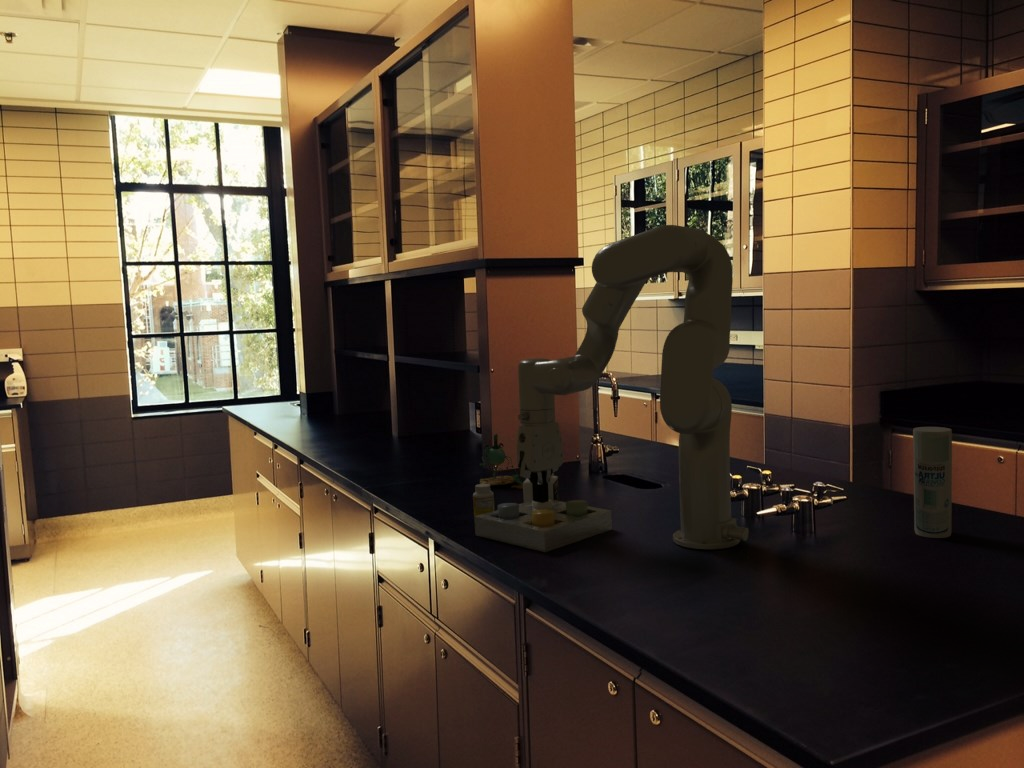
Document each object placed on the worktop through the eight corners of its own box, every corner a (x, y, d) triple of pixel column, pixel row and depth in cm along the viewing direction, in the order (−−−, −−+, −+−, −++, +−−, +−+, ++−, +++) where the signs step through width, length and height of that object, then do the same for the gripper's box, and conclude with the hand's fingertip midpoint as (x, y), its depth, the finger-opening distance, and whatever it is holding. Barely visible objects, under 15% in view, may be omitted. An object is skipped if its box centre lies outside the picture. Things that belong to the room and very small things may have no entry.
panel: (612, 529, 170) (611, 510, 170) (545, 552, 157) (544, 531, 156) (542, 515, 185) (541, 497, 184) (475, 535, 171) (474, 516, 171)
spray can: (953, 530, 157) (952, 427, 156) (951, 539, 152) (951, 432, 150) (915, 527, 161) (914, 426, 159) (912, 536, 155) (911, 431, 153)
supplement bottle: (480, 519, 184) (478, 482, 183) (498, 520, 182) (496, 483, 181) (470, 524, 180) (468, 487, 179) (489, 526, 178) (487, 487, 177)
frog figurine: (500, 493, 210) (493, 436, 210) (469, 490, 225) (462, 436, 225) (532, 487, 214) (526, 431, 214) (499, 484, 230) (493, 431, 230)
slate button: (524, 523, 171) (523, 504, 170) (508, 528, 168) (507, 509, 167) (509, 520, 174) (508, 501, 173) (494, 525, 171) (493, 506, 170)
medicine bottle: (555, 513, 186) (552, 461, 185) (523, 513, 188) (521, 461, 187) (559, 505, 193) (557, 455, 192) (529, 505, 195) (527, 455, 194)
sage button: (592, 520, 170) (591, 501, 170) (578, 525, 167) (577, 505, 167) (576, 517, 173) (575, 498, 173) (562, 522, 170) (561, 503, 170)
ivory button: (557, 519, 178) (556, 500, 177) (543, 523, 174) (542, 504, 174) (542, 516, 181) (541, 498, 180) (528, 520, 178) (527, 502, 177)
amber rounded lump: (559, 531, 163) (558, 511, 163) (544, 536, 160) (543, 516, 160) (543, 527, 167) (542, 508, 166) (528, 532, 163) (527, 512, 163)
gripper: (525, 422, 168) (528, 510, 170) (574, 413, 178) (576, 497, 180) (499, 419, 173) (503, 505, 175) (549, 411, 184) (551, 492, 185)
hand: (540, 501), depth 177 cm, fingers closed
